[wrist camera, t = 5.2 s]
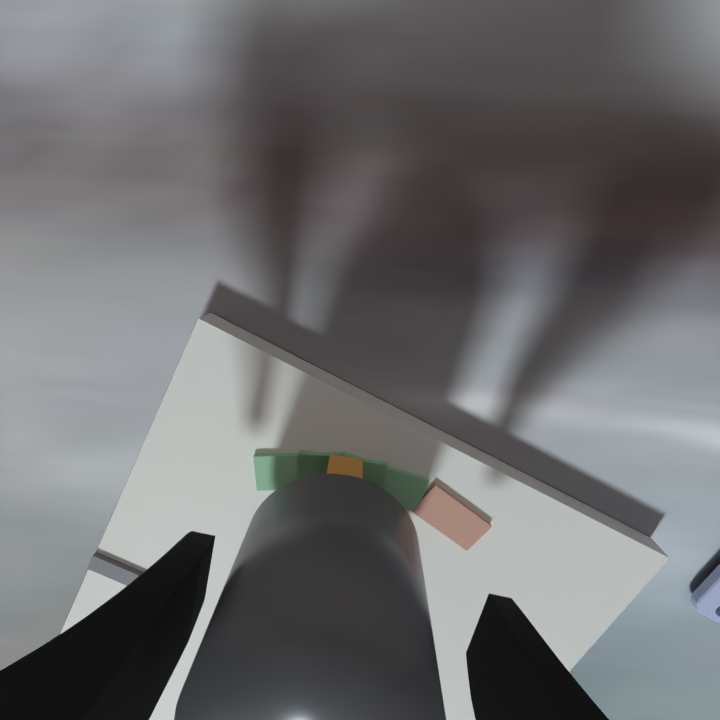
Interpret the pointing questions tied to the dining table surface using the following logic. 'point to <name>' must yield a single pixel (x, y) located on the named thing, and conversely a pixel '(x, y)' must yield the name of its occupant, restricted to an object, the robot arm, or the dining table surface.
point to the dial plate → (381, 467)
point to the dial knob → (321, 612)
